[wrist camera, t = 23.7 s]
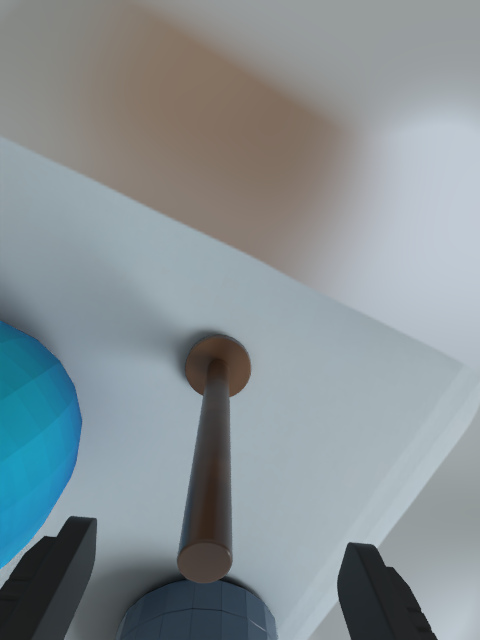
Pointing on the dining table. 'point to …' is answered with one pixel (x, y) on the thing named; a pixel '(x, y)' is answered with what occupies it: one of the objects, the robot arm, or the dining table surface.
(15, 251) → the dining table surface
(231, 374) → the stirrer
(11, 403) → the decorative orb
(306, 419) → the dining table surface
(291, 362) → the dining table surface
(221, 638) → the bowl
